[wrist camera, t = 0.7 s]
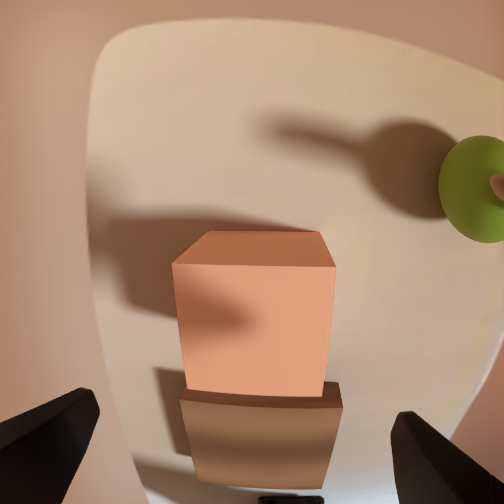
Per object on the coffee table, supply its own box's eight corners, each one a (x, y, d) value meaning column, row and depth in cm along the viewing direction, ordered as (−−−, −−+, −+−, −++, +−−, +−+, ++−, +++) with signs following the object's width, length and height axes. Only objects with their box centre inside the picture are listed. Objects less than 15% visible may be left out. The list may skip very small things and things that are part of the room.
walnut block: (319, 462, 22) (321, 488, 19) (205, 456, 23) (198, 481, 20) (337, 378, 19) (343, 407, 17) (191, 372, 21) (179, 399, 18)
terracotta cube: (313, 330, 18) (321, 396, 13) (214, 327, 19) (187, 388, 13) (319, 231, 17) (336, 267, 11) (208, 230, 17) (171, 263, 12)
